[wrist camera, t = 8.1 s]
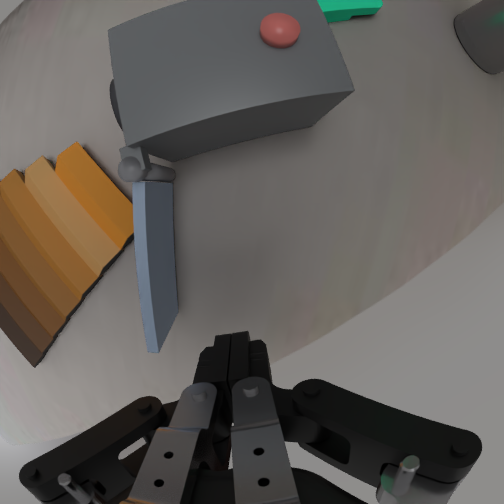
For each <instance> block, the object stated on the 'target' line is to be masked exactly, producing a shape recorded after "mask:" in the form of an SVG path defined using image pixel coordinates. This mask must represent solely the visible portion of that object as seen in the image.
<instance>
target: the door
mask: <svg viewBox="0 0 504 504" xmlns="http://www.w3.org/2000/svg"><path fill="white" fill-rule="evenodd" d="M151 167H152V170H150V171H148V173H147V175H146V177H145V178H144V179H143V180H142V181H157V182H133V224H134V242H135V256H136V268H137V278H138V288H139V296H140V304H141V312H142V319H143V326H144V332H145V338H146V344H147V350H148V352H152V353H159V352H160V349H161V347H162V345H163V343H164V341H165V339H166V337H167V335H168V332H169V330H170V328H171V326H172V324H173V322H174V320H175V318H176V316H177V314H178V301H177V288H176V273H175V255H174V231H173V183H161V182H171V181H172V180H173V179H174V177H175V172H174V170H173V169H172V168H169V167H165V166H161V165H157V164H153V163H151Z"/></svg>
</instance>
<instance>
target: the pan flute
mask: <svg viewBox="0 0 504 504" xmlns="http://www.w3.org/2000/svg"><path fill="white" fill-rule="evenodd" d="M133 239H134V224H133V204H132V203H131V202H130V201H129V200H128V199H127V198H126V197H125V196H124V195H123V194H122V192H121V191H120V190H119V189H118V188H117V187H116V186H115V185H114V183H113V182H112V181H111V180H110V179H109V178H108V177H107V176H106V174H105V173H104V172H103V171H102V170H101V169H100V168H99V166H98V165H97V164H96V163H95V162H94V161H93V160H92V158H91V157H90V156H89V155H88V154H87V153H86V151H85V150H84V149H83V148H82V147H81V145H80V144H79V143H78V142H76V143H74V144H73V145H71V146H70V147H69V148H67V149H66V150H65V151H63V152H62V153H61V154H59V155H58V157H57V162H56V168H54V167H53V165H52V164H51V163H50V161H49V160H48V159H46V158H45V157H44V156H43V155H42V156H41V157H40V158H39V159H37V160H36V161H35V162H34V163H33V164H31V165H30V166H29V167H28V168H27V169H26V170H25V177H24V175H23V174H22V172H20V171H18V170H16V169H14V170H12V171H11V172H10V173H9V174H8V175H7V176H6V177H5V178H4V179H3V180H2V181H1V182H0V328H1V329H2V330H3V332H4V333H5V334H6V335H7V337H8V338H9V339H10V340H11V342H12V343H13V344H14V345H15V346H16V348H17V349H18V350H19V351H20V352H21V353H22V355H23V356H24V357H25V358H26V359H27V360H28V361H29V362H30V364H31V365H32V366H33V367H34V368H35V367H36V366H37V365H38V364H39V363H40V362H41V361H42V359H43V358H44V356H45V355H46V353H47V352H48V349H49V348H50V347H51V346H52V344H53V343H54V341H55V340H56V338H57V337H58V334H59V333H60V332H61V331H62V330H63V328H64V327H65V325H66V324H67V322H68V321H69V320H70V317H71V316H72V315H73V314H74V313H75V311H76V310H77V309H78V307H79V306H80V305H81V303H82V302H83V301H84V299H85V298H84V297H85V296H86V295H87V294H89V293H90V292H91V290H92V289H93V288H94V286H95V285H96V284H97V283H98V281H99V280H100V279H101V278H102V276H103V275H102V274H103V273H104V272H105V271H107V270H108V269H109V268H110V266H111V265H112V264H113V263H114V262H115V260H116V259H117V258H118V257H119V256H120V254H121V253H122V252H123V251H124V249H123V248H124V247H125V246H127V245H128V244H129V243H131V242H132V241H133Z"/></svg>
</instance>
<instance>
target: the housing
mask: <svg viewBox="0 0 504 504" xmlns="http://www.w3.org/2000/svg"><path fill="white" fill-rule="evenodd" d="M108 37H109V46H110V55H111V63H112V70H113V77H114V79H113V80H112V81H111V84H110V99H111V104H112V108H113V111H114V114H115V117H116V119H117V122H118V124H119V126H120V127H121V129H122V131H123V133H124V138H125V142H126V146H125V147H123V148H120V154H121V158H122V161H121V162H120V163H119V166H118V174H119V176H120V178H121V179H122V180H123V181H126V182H139V181H142V180H143V179H144V178H145V177H146V175H147V173H148V171H150V170H152V167H151V163H150V159H149V155H148V154H150V155H153V156H156V157H159V158H162V159H165V160H168V161H170V162H174V161H177V160H180V159H183V158H187V157H190V156H193V155H196V154H200V153H203V152H206V151H210V150H213V149H217V148H220V147H224V146H228V145H231V144H235V143H239V142H243V141H247V140H251V139H255V138H259V137H264V136H268V135H272V134H277V133H281V132H286V131H291V130H296V129H301V128H306V127H311V126H313V125H314V124H315V123H316V122H317V121H318V120H320V119H321V118H322V117H323V116H324V115H326V114H327V113H328V112H329V111H330V110H331V109H333V108H334V107H335V106H336V105H338V104H339V103H340V102H341V101H342V100H344V99H345V98H346V97H347V96H349V95H350V94H351V93H352V92H353V91H355V90H354V87H353V84H352V81H351V78H350V75H349V73H348V70H347V67H346V65H345V62H344V60H343V57H342V54H341V52H340V50H339V47H338V45H337V42H336V40H335V38H334V35H333V33H332V31H331V29H330V26H329V24H328V22H327V20H326V18H325V16H324V14H323V11H322V9H321V7H320V5H319V3H318V1H317V0H187V1H183V2H180V3H177V4H173V5H170V6H167V7H164V8H161V9H158V10H155V11H152V12H150V13H147V14H144V15H142V16H139V17H136V18H134V19H131V20H129V21H127V22H124V23H122V24H120V25H117V26H115V27H113V28H111V29H109V30H108Z"/></svg>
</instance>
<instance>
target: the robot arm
mask: <svg viewBox="0 0 504 504" xmlns="http://www.w3.org/2000/svg"><path fill="white" fill-rule="evenodd" d="M454 23H455V29H456V33H457V35H458V37H459V39H460V41H461V43H462V45H463V47H464V48H465V50H466V51H467V53H468V54H469V55H470V57H471V58H472V59H473V60H474V61H475V62H476V64H477V65H479V66H480V67H481V68H482V69H483V70H485V71H486V72H488V73H490V74H497V73H500V72H503V71H504V0H482V1H480V2H479V3H477V4H475V5H474V6H472V7H470V8H469V9H467V10H465V11H464V12H462V13H461V14H459V15H458V16H457V17H456V18H455V21H454ZM232 423H234V426H232ZM142 437H143V438H144V440H145V441H146V444H145V445H143V446H142V447H140V448H139V449H137V450H136V451H134V452H133V453H131V454H130V455H128V456H127V457H126V458H124V459H121V460H119V459H118V456H119V453H120V452H121V451H122V450H124V449H125V448H127V447H128V446H130V445H131V444H133V443H134V442H135V441H137V440H139V439H140V438H142ZM284 441H287V442H298V444H299V445H300V447H302V448H303V449H304V450H306V451H308V452H309V453H311V454H313V455H315V456H316V457H318V458H320V459H322V460H323V461H325V462H327V463H328V464H330V465H332V466H334V467H336V468H338V469H340V470H342V471H343V472H345V473H347V474H349V475H351V476H353V477H355V478H357V479H359V480H361V481H363V482H365V483H368V484H369V485H372V486H374V487H376V488H377V490H376V499H377V501H378V502H379V504H447V502H448V500H449V499H450V497H451V495H452V494H453V492H454V491H455V490H456V488H457V487H458V486H459V485H460V483H461V482H462V481H463V479H464V478H465V477H466V475H467V474H468V472H469V471H470V470H471V468H472V467H473V465H474V464H475V462H476V461H477V459H478V458H479V456H480V454H481V451H482V443H481V440H480V439H479V437H478V436H477V435H476V434H475V433H473V432H471V431H468V430H463V429H460V428H456V427H453V426H449V425H446V424H442V423H439V422H435V421H432V420H429V419H426V418H423V417H419V416H416V415H413V414H410V413H407V412H404V411H401V410H398V409H396V408H393V407H390V406H387V405H384V404H382V403H379V402H376V401H374V400H371V399H368V398H365V397H363V396H360V395H358V394H355V393H353V392H350V391H348V390H345V389H343V388H341V387H338V386H335V385H333V384H331V383H329V382H326V381H324V380H320V379H308V380H305V381H302V382H300V383H298V384H297V385H296V386H295V387H294V388H293V390H291V389H289V390H288V389H282V388H279V387H276V386H275V385H273V384H272V376H271V369H270V363H269V358H268V353H267V347H266V344H265V343H264V342H263V341H262V340H261V339H260V340H254V341H250V336H249V332H248V331H244V332H237V333H232V334H224V335H216V336H215V341H214V346H212V347H206V348H205V349H204V350H203V351H202V352H201V353H200V357H199V362H198V365H197V369H196V373H195V377H194V381H193V385H190V386H189V387H187V388H186V389H185V390H184V391H183V392H182V394H181V397H180V399H179V400H178V401H175V402H171V403H167V404H163V405H162V403H161V401H160V400H159V399H158V398H156V397H152V396H146V397H142V398H139V399H137V400H135V401H134V402H132V403H130V404H129V405H127V406H126V407H124V408H122V409H121V410H119V411H118V412H116V413H114V414H113V415H111V416H110V417H108V418H106V419H105V420H103V421H101V422H100V423H98V424H96V425H95V426H93V427H91V428H90V429H88V430H86V431H85V432H83V433H81V434H80V435H78V436H76V437H74V438H72V439H71V440H69V441H67V442H66V443H64V444H62V445H60V446H58V447H57V448H55V449H53V450H51V451H49V452H47V453H45V454H43V455H42V456H40V457H38V458H36V459H34V460H32V461H30V462H28V463H27V464H25V465H24V466H23V467H22V469H21V470H20V473H19V479H20V482H21V483H22V484H23V486H25V487H26V488H27V489H28V490H29V491H30V492H31V493H32V494H33V495H34V496H35V497H36V498H37V499H38V500H39V501H40V502H41V503H42V504H368V503H366V502H364V501H362V500H360V499H358V498H357V497H355V496H353V495H351V494H349V493H348V492H346V491H344V490H342V489H341V488H339V487H337V486H336V485H334V484H332V483H331V482H329V481H328V480H326V479H325V478H323V477H321V476H319V475H317V474H315V473H313V472H310V471H307V470H303V469H299V468H292V467H291V466H290V462H289V458H288V454H287V450H286V446H285V442H284ZM231 447H232V460H233V468H232V469H228V467H229V460H230V454H231Z"/></svg>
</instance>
